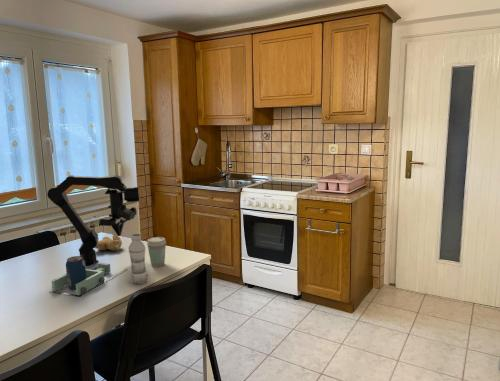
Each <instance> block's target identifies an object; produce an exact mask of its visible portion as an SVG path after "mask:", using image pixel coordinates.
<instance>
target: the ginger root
mask: <svg viewBox="0 0 500 381" xmlns="http://www.w3.org/2000/svg"><path fill="white" fill-rule="evenodd" d="M122 244H123V243H122V240H121V237H120V236H118V235H117V234H116V233H113V235H112V238H111V237H109V236H103V237H102V239H101V240H98V243H97V245H96V247H95V248H94V249H97V250H99V251H105V250H110V251H114V252H115V251H116V252H117V251H119V250H120V249H121V247H122Z"/></svg>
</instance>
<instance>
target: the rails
mask: <svg viewBox="0 0 500 381" xmlns="http://www.w3.org/2000/svg"><path fill="white" fill-rule="evenodd" d="M96 269H98V266H97V267H95V268H93V269H92V270H96ZM126 271H128V268H125V269H123V270H121V271H120V272H118V273H116V274H115V275H112V276H111V277H110V278H107V279H106V280H104V282H103V283H99V284H97V285H96V286H94V287H92V288H90V289H89V290H87V291H86V293H82V294H80V295H76V294H73V293H67V292H59V291H57V290H56V291H52V290H50V291H49V293H52V294H58V295H62V296H70V297H75V298H81V297H83V296H84V295H86V294H88V293H91V291H93V290H95V289H96V288H98V287H100V286H102V285H104V284H106V283H107V282H109V281H111V280H113V279H114V278H116V277H117V276H119V275H121V274H123V273H124V272H126Z"/></svg>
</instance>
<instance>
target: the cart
mask: <svg viewBox="0 0 500 381" xmlns="http://www.w3.org/2000/svg"><path fill="white" fill-rule="evenodd" d="M97 267H98V269H96V270H93V269H89V268H86V278H87V279H85V280H83V281H81V282H79V283H77V284H75V285H76V290H75V293H76V294H75V295H81V294H83V293H86V291H88V290H90V289H92V288H93V287H95V286H97V285H99V284H100V283H103V282H104V281H106V280H105V275H104V274H109V273H111V272H112V271H111V264H110V263H106V262H99V263H97ZM65 286H68V283H67V273H64V274H62V275H61V276H59V277H56V278H54V279H53V280H51V288H52V290H51V291H56V292H57V290H60V289H62V288H63V287H65Z"/></svg>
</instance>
